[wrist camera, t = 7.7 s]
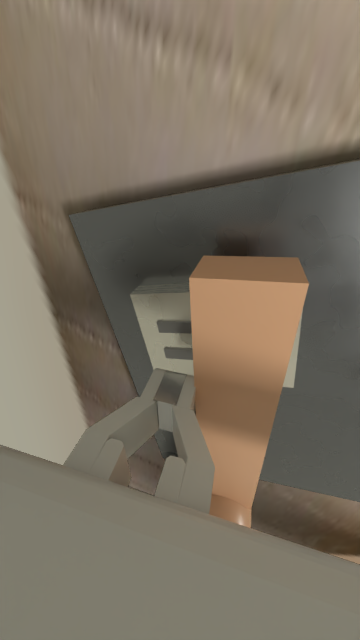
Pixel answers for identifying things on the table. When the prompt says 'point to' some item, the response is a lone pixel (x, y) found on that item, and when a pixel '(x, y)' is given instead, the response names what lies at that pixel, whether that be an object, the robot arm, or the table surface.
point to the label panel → (255, 241)
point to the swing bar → (241, 365)
